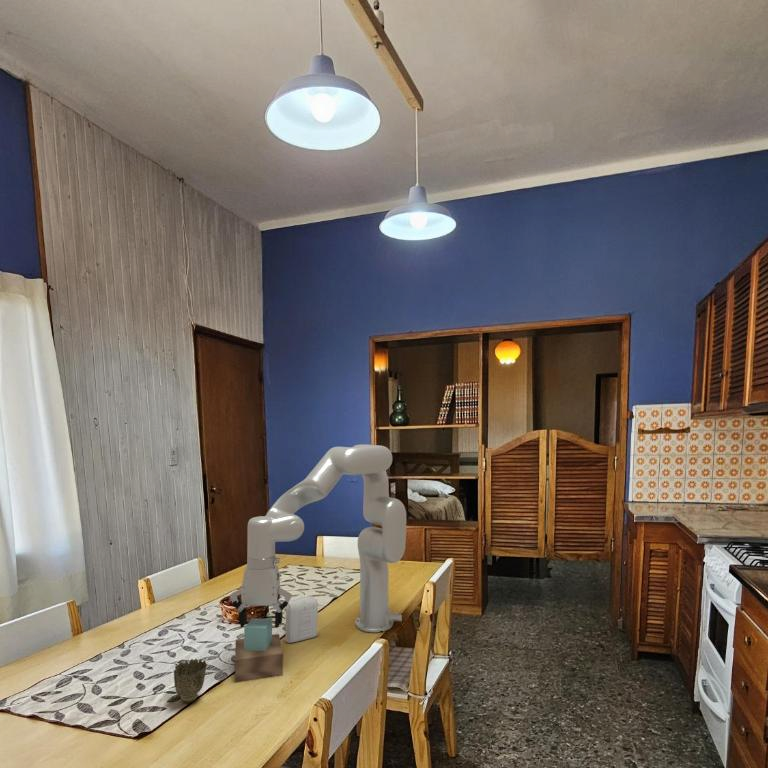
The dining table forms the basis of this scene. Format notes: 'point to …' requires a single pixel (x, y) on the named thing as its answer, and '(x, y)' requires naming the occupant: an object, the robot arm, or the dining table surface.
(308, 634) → the photo printer
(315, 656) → the dining table surface
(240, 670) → the walnut block
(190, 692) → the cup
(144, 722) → the dining table surface
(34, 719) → the dining table surface
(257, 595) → the robot arm
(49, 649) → the dining table surface
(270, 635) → the teal cube
